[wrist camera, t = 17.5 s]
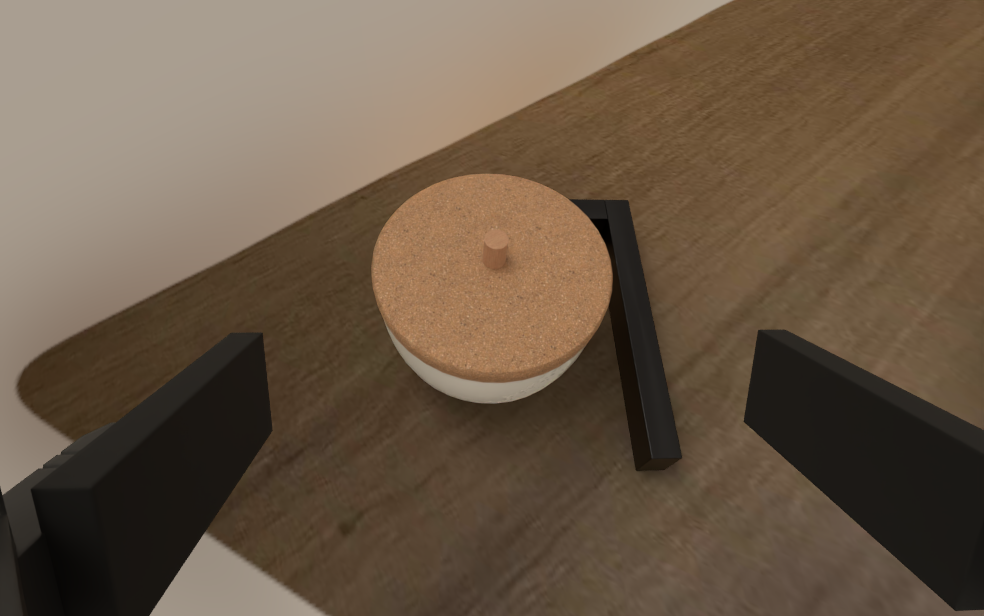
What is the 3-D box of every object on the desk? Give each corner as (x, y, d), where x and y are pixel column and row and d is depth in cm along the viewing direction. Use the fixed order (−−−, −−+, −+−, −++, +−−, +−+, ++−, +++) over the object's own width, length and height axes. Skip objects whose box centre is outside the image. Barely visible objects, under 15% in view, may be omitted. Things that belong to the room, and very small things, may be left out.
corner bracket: (438, 475, 26) (437, 463, 24) (442, 223, 34) (441, 197, 32) (664, 470, 27) (682, 458, 25) (617, 225, 35) (628, 199, 33)
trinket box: (616, 370, 30) (677, 280, 22) (448, 471, 26) (446, 409, 18) (512, 236, 34) (531, 118, 26) (357, 308, 31) (322, 199, 22)
